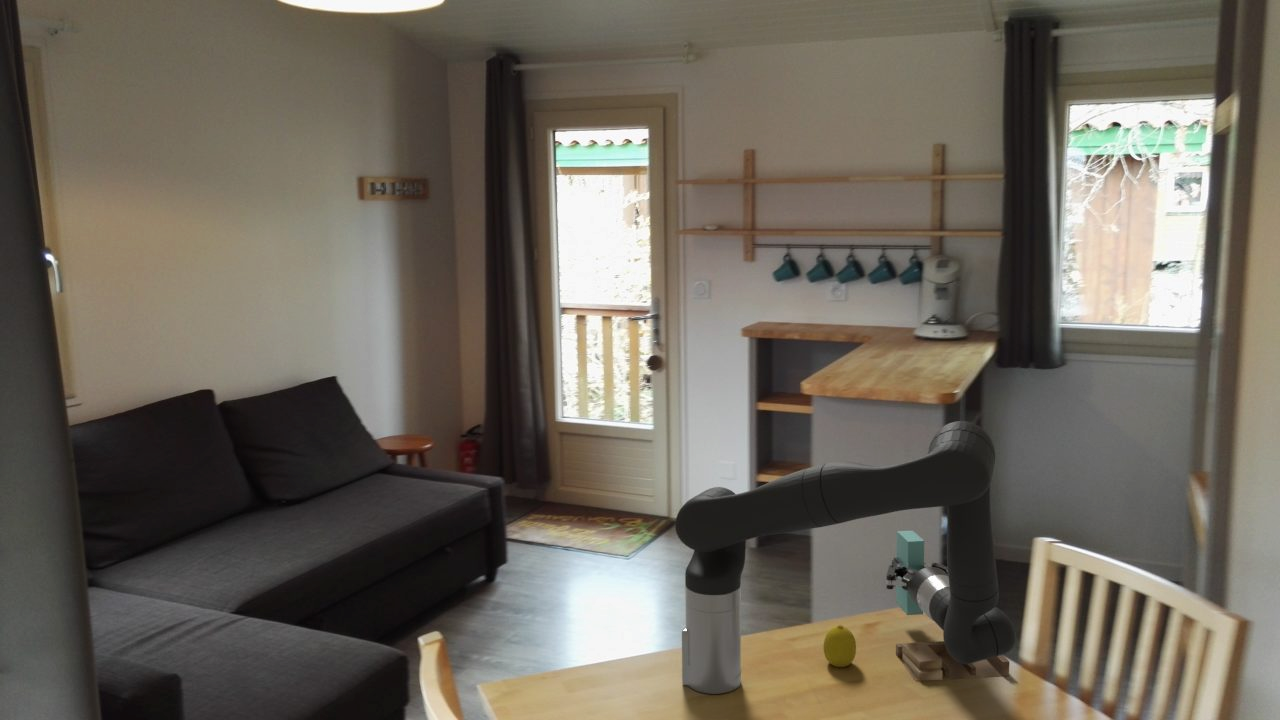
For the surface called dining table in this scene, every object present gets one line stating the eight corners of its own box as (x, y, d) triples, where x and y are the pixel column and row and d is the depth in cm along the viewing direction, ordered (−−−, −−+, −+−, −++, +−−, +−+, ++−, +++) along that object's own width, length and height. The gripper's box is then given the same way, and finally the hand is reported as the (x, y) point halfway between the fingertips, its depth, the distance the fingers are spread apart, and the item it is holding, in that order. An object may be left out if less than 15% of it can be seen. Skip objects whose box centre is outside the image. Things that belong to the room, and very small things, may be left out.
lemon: (861, 667, 174) (862, 624, 173) (845, 679, 170) (846, 634, 169) (833, 659, 178) (833, 616, 177) (817, 670, 174) (817, 626, 173)
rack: (915, 686, 167) (916, 666, 167) (895, 659, 177) (896, 641, 177) (1008, 681, 169) (1009, 661, 168) (983, 654, 179) (984, 636, 178)
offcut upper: (919, 670, 168) (919, 661, 168) (902, 652, 175) (902, 643, 174) (941, 668, 168) (942, 659, 168) (923, 650, 175) (923, 641, 175)
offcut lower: (918, 680, 167) (919, 672, 167) (902, 659, 175) (902, 651, 175) (942, 679, 168) (942, 671, 167) (924, 658, 175) (925, 650, 175)
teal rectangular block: (907, 615, 184) (908, 541, 182) (896, 602, 190) (897, 531, 188) (923, 614, 184) (924, 540, 182) (911, 601, 190) (912, 530, 188)
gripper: (979, 573, 172) (941, 540, 189) (899, 577, 171) (868, 544, 188) (978, 614, 173) (940, 579, 190) (898, 619, 172) (867, 583, 189)
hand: (904, 562), depth 189 cm, fingers closed on teal rectangular block, 3 cm apart
